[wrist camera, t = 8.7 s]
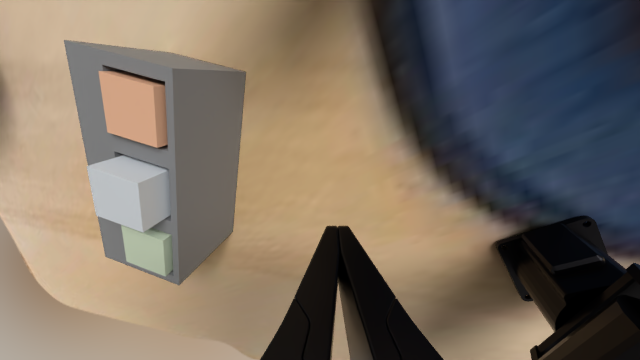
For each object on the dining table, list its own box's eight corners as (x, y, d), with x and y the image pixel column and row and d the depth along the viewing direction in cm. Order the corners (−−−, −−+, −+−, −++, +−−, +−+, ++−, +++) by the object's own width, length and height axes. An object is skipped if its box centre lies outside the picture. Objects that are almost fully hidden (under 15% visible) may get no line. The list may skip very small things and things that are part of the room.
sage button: (199, 213, 22) (163, 240, 18) (199, 245, 23) (165, 276, 20) (163, 201, 22) (121, 225, 19) (165, 233, 24) (126, 261, 20)
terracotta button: (201, 84, 17) (153, 86, 14) (200, 134, 19) (157, 147, 15) (156, 72, 18) (98, 71, 14) (159, 122, 19) (107, 132, 16)
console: (245, 71, 21) (172, 68, 14) (232, 231, 28) (179, 285, 20) (170, 52, 22) (63, 39, 14) (175, 211, 29) (105, 256, 21)
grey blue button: (186, 162, 18) (137, 183, 15) (187, 204, 20) (142, 232, 16) (144, 149, 19) (86, 166, 15) (147, 190, 20) (96, 215, 17)
